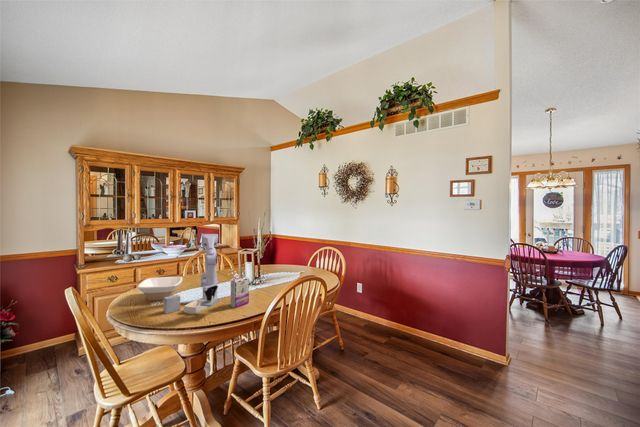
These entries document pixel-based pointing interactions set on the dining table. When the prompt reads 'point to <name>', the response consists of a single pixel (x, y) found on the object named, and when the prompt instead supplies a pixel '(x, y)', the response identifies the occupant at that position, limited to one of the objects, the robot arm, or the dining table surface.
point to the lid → (209, 302)
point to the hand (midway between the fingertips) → (210, 299)
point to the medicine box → (171, 304)
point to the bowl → (159, 287)
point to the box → (194, 307)
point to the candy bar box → (239, 292)
